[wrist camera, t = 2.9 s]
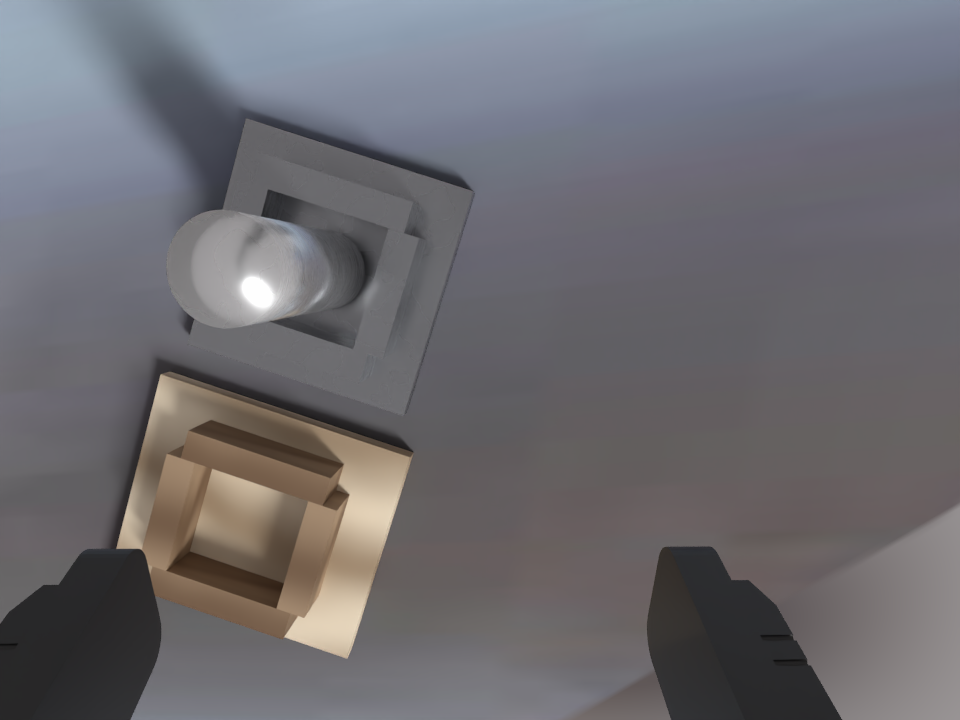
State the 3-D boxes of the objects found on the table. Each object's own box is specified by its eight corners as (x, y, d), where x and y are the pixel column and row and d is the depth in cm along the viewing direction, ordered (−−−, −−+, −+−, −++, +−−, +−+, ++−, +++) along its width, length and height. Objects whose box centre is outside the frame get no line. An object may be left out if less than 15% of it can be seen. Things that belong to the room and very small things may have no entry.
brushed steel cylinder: (299, 220, 35) (182, 194, 23) (374, 244, 35) (294, 230, 23) (279, 295, 36) (153, 307, 24) (352, 319, 36) (263, 343, 24)
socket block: (253, 122, 36) (224, 106, 32) (474, 193, 35) (468, 185, 32) (196, 342, 37) (162, 350, 34) (406, 412, 37) (394, 426, 34)
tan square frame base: (170, 371, 38) (133, 381, 34) (413, 452, 37) (401, 471, 34) (119, 569, 39) (80, 598, 36) (351, 648, 39) (334, 685, 35)
